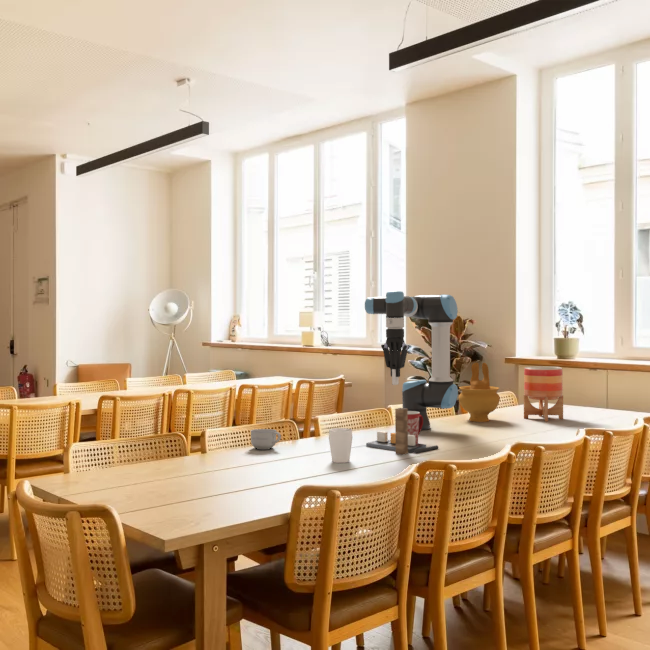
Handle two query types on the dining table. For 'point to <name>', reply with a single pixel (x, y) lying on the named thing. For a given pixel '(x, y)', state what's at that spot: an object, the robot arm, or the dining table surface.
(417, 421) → the mug
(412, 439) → the cream rectangular box
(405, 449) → the post
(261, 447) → the teacup
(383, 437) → the paddle
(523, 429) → the dining table surface
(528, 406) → the planter
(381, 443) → the switch plate
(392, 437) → the block
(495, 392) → the cactus in yellow pot
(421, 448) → the dark grey rod
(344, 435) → the cup
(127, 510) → the dining table surface
